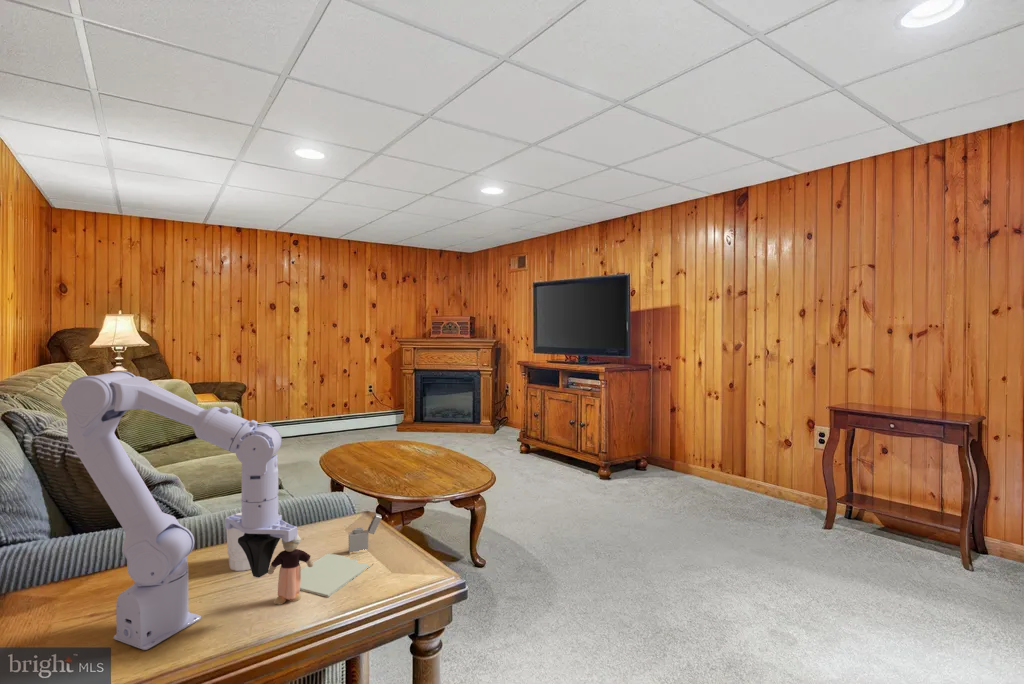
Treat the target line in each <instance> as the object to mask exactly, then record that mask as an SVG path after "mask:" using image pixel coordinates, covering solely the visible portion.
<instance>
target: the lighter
mask: <svg viewBox="0 0 1024 684" xmlns="http://www.w3.org/2000/svg"><path fill="white" fill-rule="evenodd" d="M381 521H382V515H381V514H379V513H374V514H373V517H372V519H371V522H370V523H369V526H368V528H367V529H365V530H364V527H362V526H361V527H355V528H354V529H352V531H351V532H348V553H349V552H353V551H359V550H363V549H364V550H365V549H368V550H369V534H372V535H374V534H375V533H376V530H377V529H378V527H379V525H380V522H381Z"/></svg>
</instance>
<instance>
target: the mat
mask: <svg viewBox="0 0 1024 684" xmlns="http://www.w3.org/2000/svg"><path fill="white" fill-rule="evenodd" d="M350 558H351V557H350V556H349V557H348V556H346V555H345V556H344V555H340V554H335V553H331V552H327V553H326V554H325V555H323V556H321V557H320V558H318V559H317V560H314V561H312V562H313V566H312V567H308V566H307V565H306V566H304V567H303V568H300V569H301V584H300V591H303V592H307V593H311V594H314V595H318V596H322V597H326V598H329V597H330V596H332V595H333V594H335V593H336V592H337V591H339V590H340V589H342V588H343V587H344V586H346V585H347V584H348V582H349V583H350V582H351V581H353V580H354V579H356V578H357V577H358V576H360V575H361V574H362V573H361V572H363V571H364V570H365V569H366V568H367V567H369V565H368V566H367V564H368V563H360V562H359V563H358V562H356V561H357V560H356V561H355V560H354V561H355V562H354V561H353V560H352V559H350ZM365 565H366V566H365ZM365 571H366V570H365ZM365 571H364V572H365ZM364 572H363V573H364ZM360 573H361V574H360ZM359 574H360V575H359ZM356 576H357V577H356ZM355 577H356V578H355ZM353 578H354V579H353ZM352 579H353V580H352ZM346 583H347V584H346ZM345 584H346V585H345ZM341 587H342V588H341Z"/></svg>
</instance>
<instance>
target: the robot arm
mask: <svg viewBox="0 0 1024 684" xmlns="http://www.w3.org/2000/svg"><path fill="white" fill-rule="evenodd" d="M60 405H61V406H62V408H63V409H64V411H65V412H66V413H65V414H66V430H67V431H66V433H67V440H68V442H69V443H70V445H71V447H72V448H73V450H74V451H75V453H76V455H77V456H78V458H79V460H80V462H81V463H82V465H83V466H84V468H85V469H86V471H87V473H88V474H89V476H90V478H91V479H92V480H93V482H94V484H95V486H96V487H97V489H98V490H99V492H100V494H101V495H102V497H103V498H104V500H105V502H106V504H107V505H108V506H109V508H110V510H111V511H112V513H113V514H114V517H116V519H117V521H118V523H119V524H120V526H121V527H122V529H123V530H124V532H125V535H124V541H123V544H122V554H123V555H124V556H125V558H126V563H127V564H126V565H127V573H128V575H129V577H130V579H132V581H134V583H133V584H132V585H131V586H129V587H128V588H127V589H124V591H122V592H120V593H119V595H118V596H117V598H116V602H115V603H116V604H115V605H116V606H115V609H116V610H115V611H116V634H114V635H113V639H114V640H116V641H118V642H121V643H124V644H126V645H129V646H132V647H135V648H138V649H141V650H143V651H147V650H149V649H151V648H153V647H155V646H156V645H158V644H160V643H161V642H163V641H165V640H166V639H168V638H170V637H173V635H176V634H177V633H179V632H180V631H182V630H184V629H186V628H188V627H190V626H191V625H192V624H195V623H196V622H198V621H200V620H201V619H202V615H200V614H197V613H193V612H190V610H189V565H188V556H189V555H190V554H191V553H192V551H193V550H194V547H195V537H194V534H193V533H192V532H191V530H190V529H188V528H187V527H185V526H184V525H182V524H181V523H180V522H179V521H178V520H177V518H176V516H174V515H172V514H168V513H165V512H163V511H162V510H161V508H160V505H158V503H157V501H156V499H155V498H154V495H152V492H151V491H150V490H149V488H148V487H147V485H146V483H145V480H143V478H142V476H141V475H140V473H139V471H138V470H137V469H136V467H135V465H134V464H133V463H134V462H132V460H131V459H130V457H129V455H128V454H127V452H126V450H125V448H124V447H123V445H122V443H121V442H120V441H119V439H118V437H117V436H116V434H115V432H116V429H117V428H118V425H119V424H120V421H121V419H122V417H123V416H124V415H125V414H126V412H128V411H133V410H140V409H141V410H146V411H150V412H152V413H154V414H157V415H160V416H162V417H165V418H168V419H171V420H173V421H176V422H178V423H181V424H183V425H187V426H189V427H192V429H193V432H194V435H195V436H196V438H197V439H200V440H202V441H204V442H207V443H209V444H211V445H214V446H216V447H218V448H221V449H223V450H226V451H228V452H230V453H232V454H235V455H236V457H237V459H238V461H239V462H240V463H241V474H240V478H241V513H242V515H236V514H237V513H234V514H231V515H229V516H226V517H225V518H224V529H231V528H235V529H239V530H240V531H242V532H244V533H245V534H244V536H242V537H239V538H238V543H239V545H240V546H241V547H242V549H243V550H244V552H245V554H246V556H247V559H248V561H249V564H250V568H251V569H250V571H251V574H252V577H254V578H261V577H262V576H264V575H267V574H268V570H269V569H270V566H271V563H272V558H273V555H274V552H275V550H276V549H277V546H278V543H279V541H281V540H282V539H284V541H286V542H289V541H292V540H293V539H295V538H297V534H298V526H295V525H293V524H290V523H288V522H286V521H285V520H283V519H282V517H283V515H282V514H279V466H278V463H279V460H278V457H279V455H278V454H276V453H278V452H279V449H280V448H281V446H282V442H283V439H282V438H283V437H282V435H281V433H280V431H279V430H278V429H277V428H276V427H273V426H272V424H268V423H261V424H259V422H258V421H256V420H254V419H251V420H248V419H246V418H243V417H242V416H239V415H237V414H236V413H235V414H234V413H232V408H231V407H228V406H226V405H225V406H222V407H221V408H220V407H218V406H213V407H209V408H206V409H205V408H203V407H201V406H199V405H197V404H195V403H193V402H191V401H189V400H187V399H185V398H183V397H181V396H179V395H177V394H175V393H173V392H171V391H170V390H168V389H165V388H163V387H161V386H159V385H157V384H155V383H153V382H152V381H150V380H149V379H147V378H146V377H142V376H139V375H137V376H136V375H135V374H133V373H132V372H130V371H126V370H115V371H113V372H109V373H102V374H97V375H96V374H95V375H83V376H81V377H78V378H77V379H75V380H73V381H72V382H71V383H70V384H69V385H68V387H67V389H66V391H65V393H64V395H63V396H62V398H61V400H60ZM258 424H259V425H258Z"/></svg>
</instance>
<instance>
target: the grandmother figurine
mask: <svg viewBox="0 0 1024 684" xmlns="http://www.w3.org/2000/svg"><path fill="white" fill-rule="evenodd" d="M301 541H302V538H301V536H299V533H297V538H295V539H293V540H292V541H289V542H286V541H284V539H282V538H281V544H282V547H283V550H282V551H280V552H279V553H278V554H277V555H276V556H275V557H274V559H273V560H272V561H271V562H270V566H269V570H268V573H267V574H268V575H273V574H274V571H275V570H276V568H277V567H278V566H280V568H279V571H278V572H279V573H278V580H277V581H278V583H277V597H276V599H275V600H274V604H275V605H281V604H284V603H286V602H287V600H289V602H297V601H300V600H301V598H302V596H301V594H300V592H301V590H300V584H301V569H302V568H301V565H300V562H303V563H306V566H308V567H312V566H313V562H314V561H312V558H311V555H310V554H309V553H307V552H306V551H304V550H302V549H298V546H299V544H300V543H301Z"/></svg>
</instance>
